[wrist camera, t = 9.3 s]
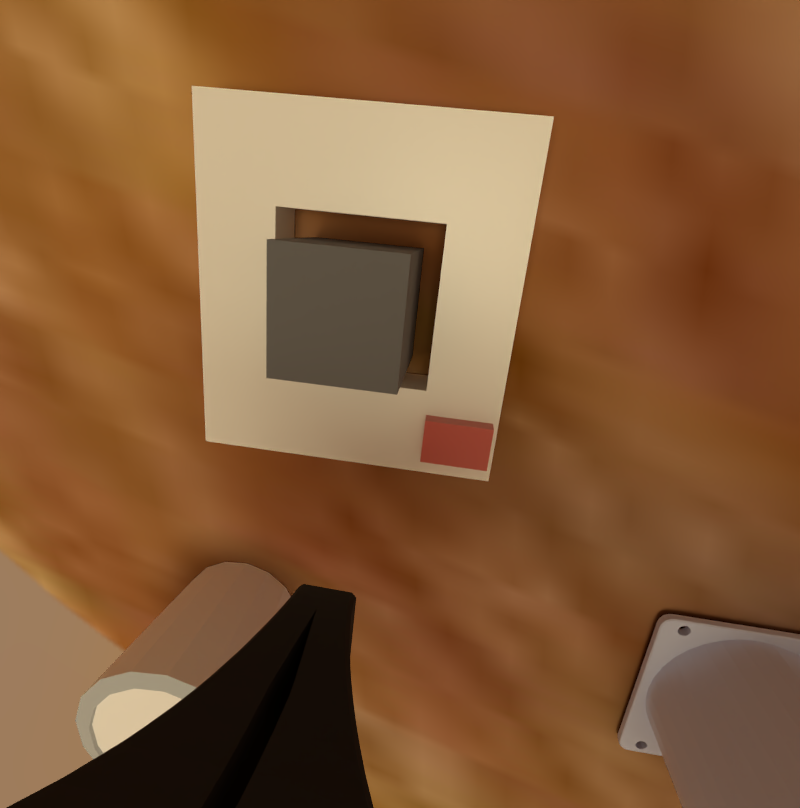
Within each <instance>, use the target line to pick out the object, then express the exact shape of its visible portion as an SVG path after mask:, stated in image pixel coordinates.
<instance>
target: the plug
mask: <svg viewBox="0 0 800 808" xmlns="http://www.w3.org/2000/svg"><path fill="white" fill-rule="evenodd" d="M423 252H424V248H415V247H405V246H395V245H386V244H376V243H366V242H357V241H347V240H338V239H328V238H318V237H311V238H283V239H267V301H266V378H270V379H278V380H286V381H294V382H302V383H309V384H317V385H325V386H333V387H341V388H348V389H356V390H364V391H372V392H380V393H388V394H395V395H397V394H398V391H399V389H400V386H401V383H402V381H403V378H404V376H405V373H406V371H407V368H408V366H409V363H410V361H411V358H412V355H413V346H414V337H415V327H416V318H417V309H418V299H419V290H420V280H421V271H422V262H423Z"/></svg>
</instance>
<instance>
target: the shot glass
mask: <svg viewBox="0 0 800 808" xmlns="http://www.w3.org/2000/svg"><path fill="white" fill-rule="evenodd" d="M290 597H291V596H290V594H289V592H288V591H287V589H286V587H285V586H284V585H283V584H281V583H280V582H279V581H278V580H277V579H276V578H274V577H273V576H272V575H271V574H270V573H269V572H266V571H264V570H262V569H259V568H257V567H255V566H252V565H250V564H247V563H235V562H223V563H219V564H216V565H213V566H209V567H206V568H205V569H204V570H203V571H202V572H201V573H200V574H199V575H198V576H197V577H195V578H194V579H193V580H192V581H191V582H190V584H189V585H188V586H187V587H186V588H185V589H184V590H183V591H182V592H181V593H180V594H179V595H178V596H177V597H176V598H175V599H174V600H173V601H172V602H171V603H170V604H169V605H168V606H167V608H166V609H165V610H164V611H163V612H162V613H161V614H160V615H159V616H158V617H157V618H156V619H155V620H154V621H153V622H152V623H151V624H150V625H149V626H148V627H147V628H146V629H145V630H144V632H143V633H142V634H141V635H140V636H139V637H138V638H137V639H136V640H135V641H134V642H133V643H132V644H131V645H130V646H129V647H128V648H127V649H126V650H125V651H124V652H123V653H122V654H121V656H120V657H119V658H118V659H117V660H116V661H115V662H114V663H113V664H112V665H111V666H110V667H109V668H108V669H107V670H106V671H105V672H104V673H103V674H102V675H101V676H100V677H99V679H98V680H97V681H96V682H95V683H94V684H93V685H92V686H91V687H90V688H89V689H88V690H87V691H86V692H85V693H84V694H83V695H82V696H81V699H80V704H79V707H78V712H77V716H76V720H75V721H76V723H77V727H78V731H79V734H80V737H81V741H82V744H83V747H84V748H85V749H86V751H87V752H88V753H89V755H90V756H91V757H92V758H93V759H95V758H96V757H98V756H100V755H101V754H103V753H105V752H106V751H108V750H109V749H111V748H113V747H114V746H116V745H118V744H119V743H121V742H122V741H124V740H125V739H127V738H128V737H130V736H131V735H133V734H134V733H136V732H137V731H139V730H140V729H142V728H143V727H145V726H146V725H147V724H149V723H150V722H152V721H153V720H154V719H156V718H157V717H159V716H160V715H161V714H163V713H164V712H166V711H167V710H168V709H170V708H171V707H173V706H174V705H175V704H177V703H178V702H179V701H180V700H182V699H183V698H184V697H186V696H187V695H188V694H189V693H191V692H192V691H193V690H194V689H196V688H197V687H198V686H199V685H201V684H202V683H203V682H204V681H205V680H207V679H208V678H209V677H210V676H211V675H212V674H214V673H215V672H216V671H217V670H218V669H219V668H220V667H221V666H223V665H224V664H225V663H226V662H227V661H228V660H229V659H230V658H231V657H232V656H234V655H235V654H236V653H237V652H238V651H239V650H240V649H241V648H242V647H243V646H244V645H245V644H246V643H247V642H248V641H249V640H250V639H251V638H252V637H253V636H254V635H255V634H256V633H257V632H258V631H259V630H260V629H261V628H262V627H263V626H264V625H265V624H266V623H267V622H268V621H269V620H270V619H271V618H272V617H273V616H274V615H275V614H276V613H277V612H278V611H279V609H280V608H281V607H282V606H283V605H284V604H285V603H286V602H287V601H288V599H289V598H290Z"/></svg>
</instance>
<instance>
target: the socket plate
mask: <svg viewBox="0 0 800 808" xmlns="http://www.w3.org/2000/svg"><path fill="white" fill-rule="evenodd" d="M192 104H193V129H194V155H195V180H196V205H197V230H198V256H199V281H200V306H201V331H202V357H203V382H204V407H205V432H206V441H209V442H216V443H223V444H230V445H237V446H244V447H251V448H258V449H265V450H272V451H279V452H286V453H293V454H300V455H307V456H314V457H321V458H328V459H335V460H342V461H349V462H356V463H363V464H370V465H377V466H384V467H391V468H398V469H405V470H412V471H419V472H426V473H433V474H440V475H447V476H454V477H461V478H468V479H475V480H482V481H489V475H490V469H491V464H492V458H493V453H494V447H495V442H496V436H497V430H498V425H499V419H500V414H501V408H502V403H503V397H504V392H505V386H506V380H507V375H508V369H509V364H510V358H511V353H512V347H513V341H514V336H515V330H516V325H517V319H518V314H519V308H520V303H521V297H522V291H523V286H524V280H525V275H526V269H527V264H528V258H529V252H530V247H531V241H532V236H533V230H534V225H535V219H536V214H537V208H538V202H539V197H540V191H541V186H542V180H543V175H544V169H545V163H546V158H547V152H548V147H549V141H550V136H551V130H552V125H553V119H554V117H553V116H541V115H529V114H518V113H506V112H494V111H482V110H471V109H459V108H447V107H435V106H424V105H412V104H400V103H388V102H376V101H365V100H353V99H341V98H329V97H318V96H306V95H294V94H282V93H271V92H259V91H247V90H235V89H224V88H212V87H200V86H192ZM295 209H301V210H310V211H320V212H330V213H339V214H349V215H359V216H368V217H378V218H388V219H397V220H407V221H417V222H426V223H436V224H446V225H447V228H446V236H445V244H444V252H443V260H442V268H441V277H440V285H439V293H438V301H437V309H436V317H435V325H434V334H433V342H432V350H431V358H430V366H429V374H428V375H421V374H413V373H405V376H404V378H403V381H402V383H401V386H400V389H399V391H398V394H397V395H395V394H388V393H380V392H372V391H364V390H356V389H348V388H341V387H333V386H325V385H317V384H309V383H302V382H294V381H286V380H278V379H270V378H266V301H267V239H283V238H294V232H295Z"/></svg>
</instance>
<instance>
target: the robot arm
mask: <svg viewBox="0 0 800 808" xmlns="http://www.w3.org/2000/svg"><path fill="white" fill-rule="evenodd" d="M355 603H356V597H355V596H354V595H353V593H350V592H345V591H339V590H333V589H328V588H322V587H317V586H311V585H306V584H303V585H301V586H300V587H299V588H298V589H297V590H296V591H295V592H294V594H293V595H292V596H291V597H290V598H289V599H288V601H287V602H286V603H285V604H284V605H283V606H282V607H281V608H280V609H279V611H278V612H277V613H276V614H275V615H274V616H273V617H272V618H271V619H270V620H269V621H268V622H267V623H266V624H265V625H264V626H263V627H262V628H261V629H260V630H259V631H258V632H257V633H256V634H255V635H254V636H253V637H252V638H251V639H250V640H249V641H248V642H247V643H246V644H245V645H244V646H243V647H242V648H241V649H240V650H239V651H238V652H237V653H236V654H235V655H234V656H232V657H231V658H230V659H229V660H228V661H227V662H226V663H225V664H224V665H223V666H221V667H220V668H219V669H218V670H217V671H216V672H215V673H214V674H212V675H211V676H210V677H209V678H208V679H207V680H205V681H204V682H203V683H202V684H201V685H199V686H198V687H197V688H196V689H194V690H193V691H192V692H191V693H189V694H188V695H187V696H186V697H184V698H183V699H182V700H180V701H179V702H178V703H177V704H175V705H174V706H173V707H171V708H170V709H168V710H167V711H166V712H164V713H163V714H161V715H160V716H159V717H157V718H156V719H154V720H153V721H152V722H150V723H149V724H147V725H146V726H145V727H143V728H142V729H140V730H139V731H137V732H136V733H134V734H133V735H131V736H130V737H128V738H127V739H125V740H124V741H122V742H121V743H119V744H118V745H116V746H114V747H113V748H111V749H109V750H108V751H106V752H105V753H103V754H101V755H100V756H98V757H96V758H95V759H93V760H92V761H90V762H88V763H87V764H85V765H83V766H82V767H80V768H79V769H77V770H75V771H74V772H72V773H70V774H69V775H67V776H65V777H63V778H61V779H60V780H58V781H56V782H54V783H52V784H50V785H48V786H47V787H45V788H43V789H41V790H39V791H37V792H35V793H33V794H31V795H30V796H28V797H26V798H24V799H22V800H20V801H18V802H16V803H14V804H13V805H11V806H9V807H7V808H373V804H372V800H371V796H370V792H369V787H368V783H367V779H366V775H365V770H364V765H363V760H362V755H361V750H360V745H359V739H358V733H357V727H356V720H355V712H354V705H353V695H352V685H351V672H350V652H351V642H352V632H353V623H354V613H355ZM682 626H686V627H685V628H683V629H679V628H680V627H682ZM618 741H619V744H620V746H621V747H623V748H624V749H627V750H632V751H637V752H643V753H648V754H654V755H659V756H663V758H664V761H665V764H666V766H667V769H668V771H669V774H670V777H671V779H672V782H673V784H674V787H675V790H676V792H677V795H678V797H679V800H680V803H681V805H682V808H800V634H795V633H789V632H782V631H776V630H770V629H763V628H757V627H751V626H744V625H738V624H732V623H726V622H719V621H713V620H707V619H700V618H694V617H688V616H682V615H675V614H666V615H663V616H661V617H660V618H659V619H658V621H657V623H656V626H655V629H654V632H653V635H652V638H651V640H650V643H649V646H648V649H647V652H646V655H645V658H644V660H643V663H642V666H641V669H640V672H639V675H638V678H637V680H636V683H635V686H634V689H633V692H632V695H631V698H630V700H629V703H628V706H627V709H626V712H625V715H624V718H623V720H622V723H621V726H620V729H619V732H618Z"/></svg>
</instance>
